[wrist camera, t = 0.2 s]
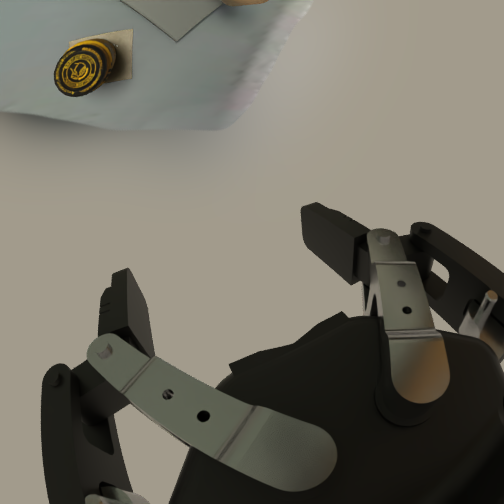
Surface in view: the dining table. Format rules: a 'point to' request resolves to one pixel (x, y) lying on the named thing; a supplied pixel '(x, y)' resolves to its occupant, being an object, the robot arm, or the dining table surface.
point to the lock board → (174, 13)
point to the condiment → (94, 63)
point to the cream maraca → (242, 2)
